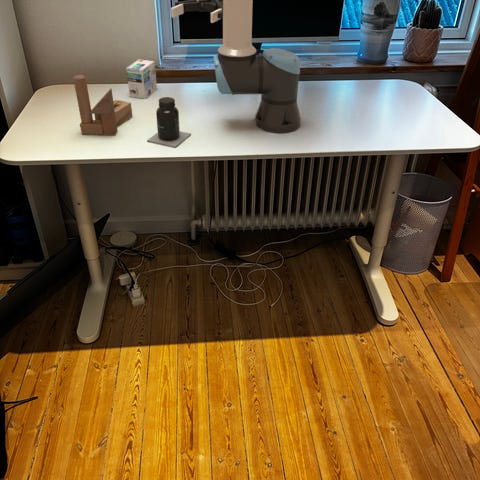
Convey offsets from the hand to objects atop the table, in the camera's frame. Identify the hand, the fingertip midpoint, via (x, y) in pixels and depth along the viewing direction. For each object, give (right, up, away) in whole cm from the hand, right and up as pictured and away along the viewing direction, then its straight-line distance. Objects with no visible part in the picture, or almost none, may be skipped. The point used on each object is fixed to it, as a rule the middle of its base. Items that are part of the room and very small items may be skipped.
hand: (191, 15), depth 152 cm
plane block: (-27, -29, +14) cm, 42 cm away
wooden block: (-30, -34, +7) cm, 46 cm away
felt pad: (-7, -37, +5) cm, 38 cm away
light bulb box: (-21, -14, +35) cm, 43 cm away
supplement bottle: (-7, -36, +4) cm, 37 cm away
